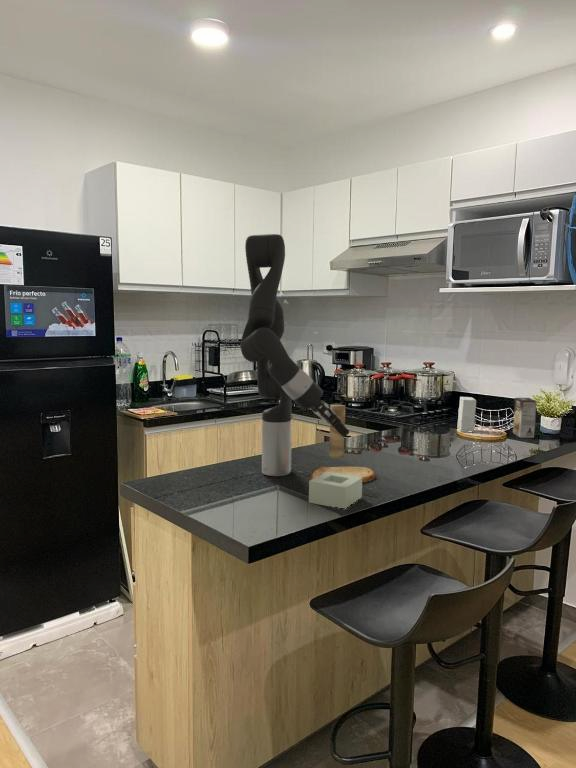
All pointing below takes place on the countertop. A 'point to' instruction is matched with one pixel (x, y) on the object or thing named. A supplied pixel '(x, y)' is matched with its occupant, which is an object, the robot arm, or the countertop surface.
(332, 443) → the dowel
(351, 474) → the slice of bread
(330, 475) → the holder
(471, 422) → the skincare box
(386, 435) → the countertop surface
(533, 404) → the coffee box
